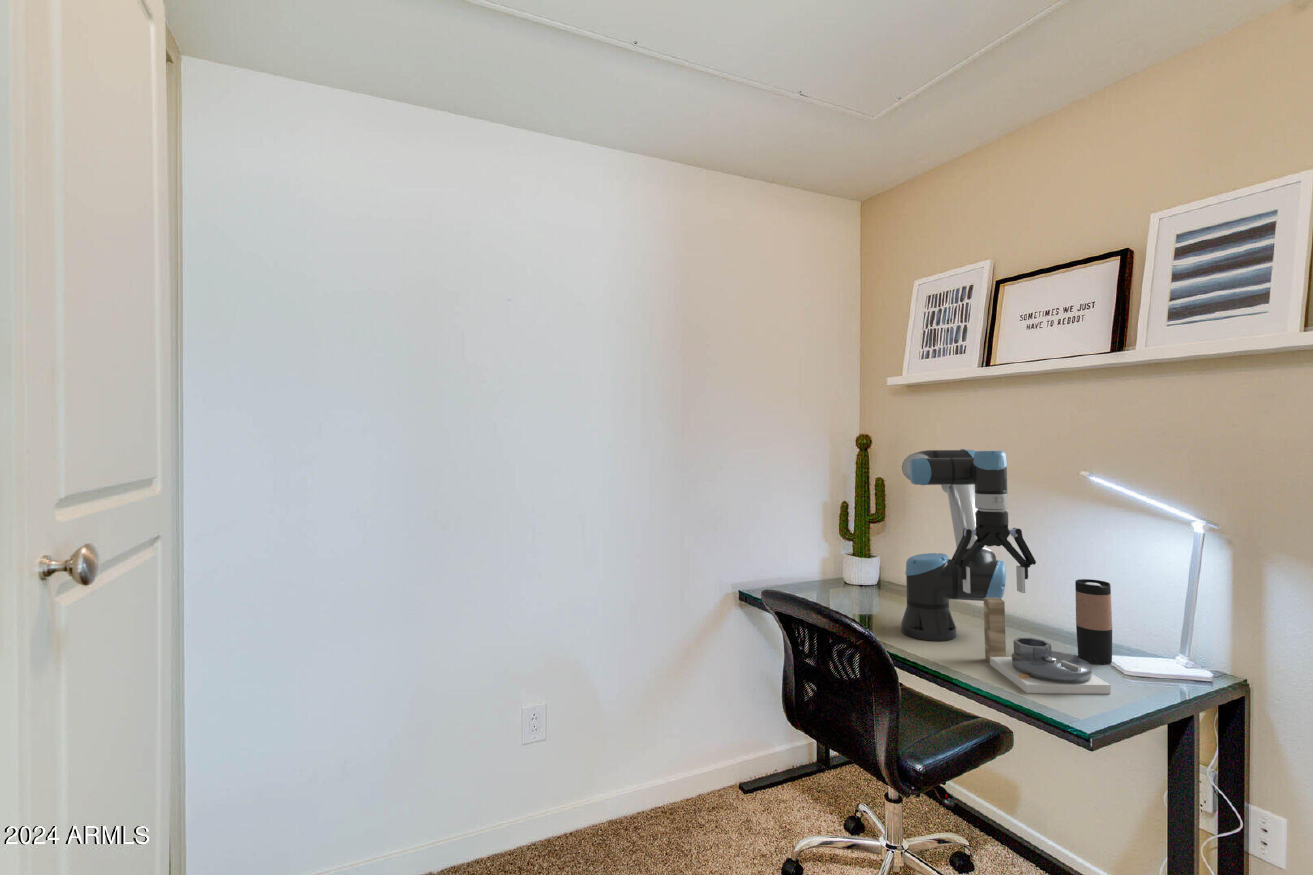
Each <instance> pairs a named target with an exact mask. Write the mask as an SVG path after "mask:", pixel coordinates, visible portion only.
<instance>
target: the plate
mask: <svg viewBox="0 0 1313 875" xmlns="http://www.w3.org/2000/svg"><path fill="white" fill-rule="evenodd" d="M989 665H990V666H991V667H992V668H994V669H995V670H996V671H997V672H999V673H1000V674H1001V675H1003V676H1004V677H1006V678H1007V679H1008V680H1009V681H1011V682H1012V683H1013V684H1014V685H1015V686H1017V687H1018V688H1020V689H1021V690H1022V691H1024V692H1025V693H1026V694H1065V695H1066V694H1068V695H1070V694H1073V695H1074V694H1077V695H1079V694H1080V695H1081V694H1085V695H1091V694H1093V695H1096V694H1097V695H1101V694H1102V695H1111V694H1112V691H1111V688H1112V687H1111V684H1109V683H1108V682H1106V681H1104V680H1103V679H1101V678H1099V677H1098V676H1096V675H1095V674H1093V673H1092V677H1091V678H1090V679H1088V680H1086V681H1080V682H1061V681H1053V680H1047V679H1042V678H1038V677H1034V676H1031V675H1028V674H1025V673H1023V672H1020V671H1019V670H1017V669H1015V668H1014V667H1013V665H1012V656H1006V657H990V662H989Z"/></svg>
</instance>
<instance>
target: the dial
mask: <svg viewBox="0 0 1313 875" xmlns="http://www.w3.org/2000/svg"><path fill="white" fill-rule="evenodd" d="M1011 657H1012V665H1013V667H1014V668H1015V669H1017V670H1019V671H1020V672H1023V673H1025V674H1028V675H1031V676H1034V677H1038V678H1042V679H1047V680H1053V681H1061V682H1080V681H1086V680H1088V679H1090V678H1091V677H1092V674H1093V670H1092V668H1093V667H1092V665H1091V663H1089V662H1087V661H1085V660H1083V659H1081V658H1079V657H1078V656H1076V655H1073V654H1069V653H1064V652H1061V651H1056V650H1055V651H1053V650H1052V644H1051V643H1050V642H1048V641H1046V640H1044V639H1038V638H1034V637H1016V638H1015V639H1013V652H1012V654H1011Z"/></svg>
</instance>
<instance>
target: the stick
mask: <svg viewBox="0 0 1313 875" xmlns="http://www.w3.org/2000/svg"><path fill="white" fill-rule="evenodd" d="M1005 607H1006V606H1005V601H1004V600H1003V599H999V598H984V601H983V622H984V623H983V628H984V659H985V660H986V661H987V662H989V663H990V657H1007V649H1006V648H1007V647H1006V646H1007V644H1006V639H1007V638H1006V610H1005Z"/></svg>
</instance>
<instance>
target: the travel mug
mask: <svg viewBox="0 0 1313 875" xmlns="http://www.w3.org/2000/svg"><path fill="white" fill-rule="evenodd" d="M1074 583H1075V585H1074V586H1075V588H1074V589H1075V624H1076V625H1075V626H1076V627H1075V628H1076V644H1077V657H1079V658H1081V659H1083V660H1085V661H1087V662H1088V663H1090V664H1095V665H1110V664H1112V663H1113V614H1112V612H1113V610H1112V609H1113V608H1112V589H1111V587H1112V586H1111V583H1110V582H1107V581H1104V580H1098V579H1091V578H1090V579H1089V578H1083V579H1082V578H1081V579H1075V582H1074Z"/></svg>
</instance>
